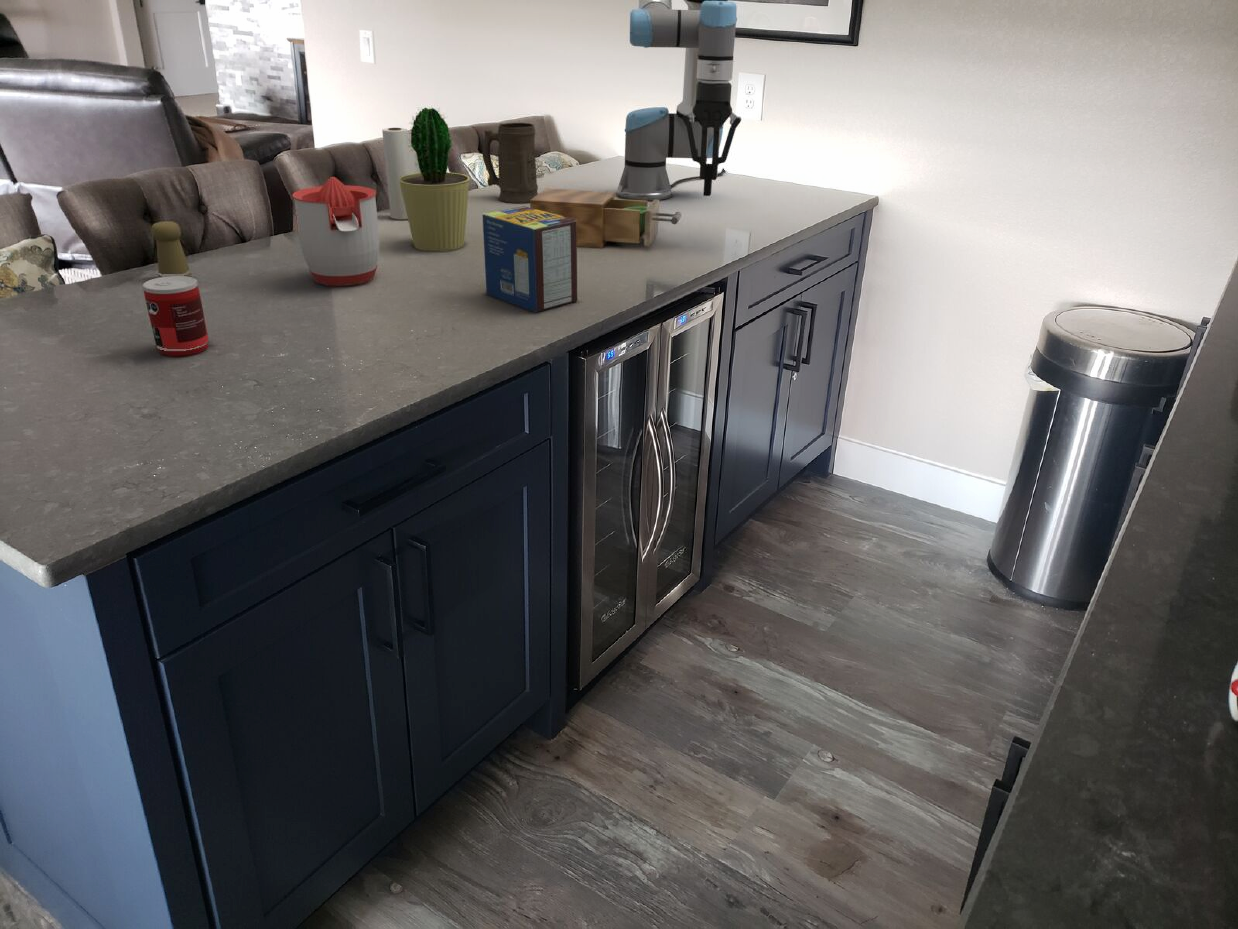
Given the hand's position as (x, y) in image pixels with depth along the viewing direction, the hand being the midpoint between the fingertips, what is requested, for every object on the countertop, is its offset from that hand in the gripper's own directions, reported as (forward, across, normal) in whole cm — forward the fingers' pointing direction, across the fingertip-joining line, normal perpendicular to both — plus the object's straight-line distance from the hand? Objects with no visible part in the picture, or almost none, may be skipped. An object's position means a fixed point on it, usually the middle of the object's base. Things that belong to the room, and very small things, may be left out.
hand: (707, 194), depth 208 cm
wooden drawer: (+11, -17, 0) cm, 20 cm away
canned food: (+13, -75, -87) cm, 115 cm away
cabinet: (+12, -31, 0) cm, 33 cm away
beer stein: (+12, -58, +38) cm, 71 cm away
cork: (+12, -100, -52) cm, 113 cm away
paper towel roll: (+12, -77, +9) cm, 78 cm away
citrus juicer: (+12, -67, -45) cm, 82 cm away
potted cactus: (+12, -59, -14) cm, 62 cm away
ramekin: (+9, -17, 0) cm, 19 cm away
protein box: (+12, -28, -47) cm, 56 cm away
